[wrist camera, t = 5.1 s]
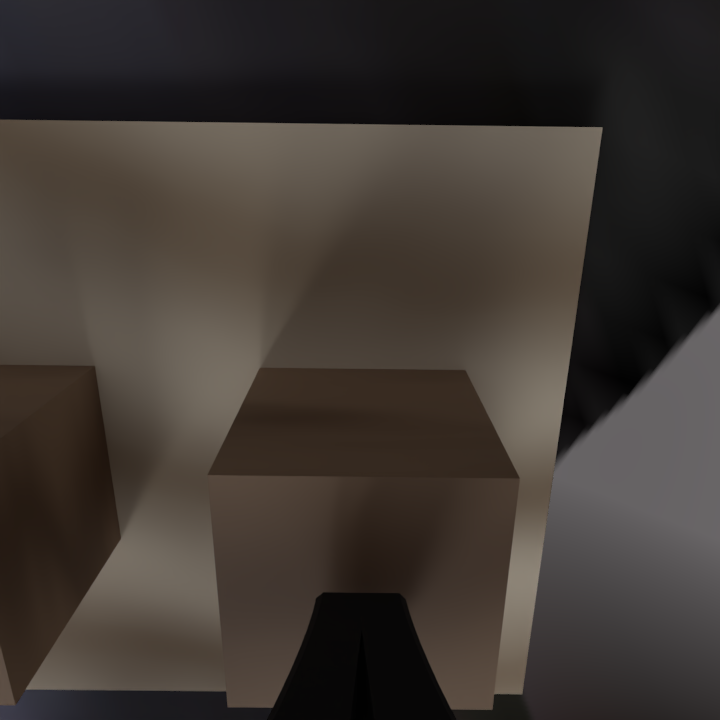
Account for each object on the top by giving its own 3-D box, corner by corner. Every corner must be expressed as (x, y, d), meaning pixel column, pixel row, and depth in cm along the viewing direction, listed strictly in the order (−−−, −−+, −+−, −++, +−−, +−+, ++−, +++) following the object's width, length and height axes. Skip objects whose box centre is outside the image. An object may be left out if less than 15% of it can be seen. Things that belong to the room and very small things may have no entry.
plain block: (452, 541, 15) (492, 710, 11) (268, 540, 15) (227, 707, 11) (465, 369, 14) (520, 478, 9) (259, 367, 14) (207, 475, 9)
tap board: (513, 666, 18) (522, 694, 17) (-362, 658, 18) (-401, 685, 17) (584, 130, 13) (602, 127, 12) (-651, 113, 13) (-731, 110, 12)
